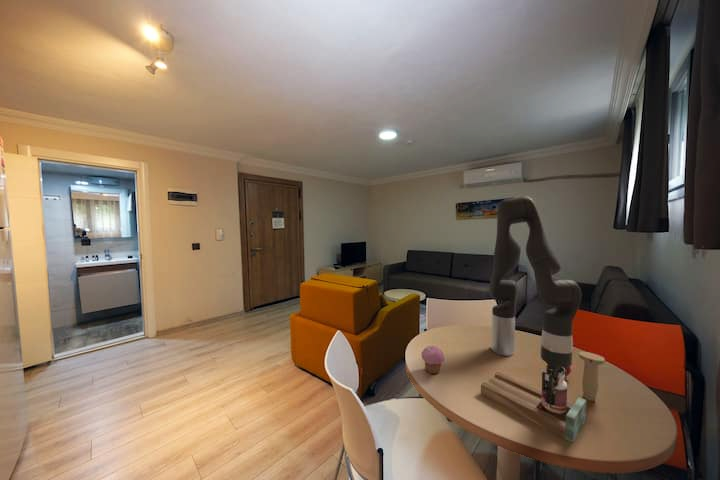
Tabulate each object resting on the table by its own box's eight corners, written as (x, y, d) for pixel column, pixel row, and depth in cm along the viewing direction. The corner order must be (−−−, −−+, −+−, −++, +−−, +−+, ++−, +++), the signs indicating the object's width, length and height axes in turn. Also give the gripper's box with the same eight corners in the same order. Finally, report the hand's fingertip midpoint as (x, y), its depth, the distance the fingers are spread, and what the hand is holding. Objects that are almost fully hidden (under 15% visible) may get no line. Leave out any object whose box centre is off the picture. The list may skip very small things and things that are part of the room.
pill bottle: (569, 408, 80) (571, 374, 79) (561, 417, 76) (563, 381, 75) (546, 397, 85) (547, 364, 84) (537, 405, 81) (538, 371, 80)
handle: (601, 406, 85) (604, 362, 84) (576, 397, 90) (578, 355, 89) (602, 399, 89) (605, 356, 88) (577, 390, 93) (579, 350, 92)
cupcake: (438, 364, 112) (438, 341, 111) (448, 376, 103) (448, 352, 102) (418, 366, 110) (418, 343, 110) (426, 378, 102) (426, 353, 101)
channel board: (497, 380, 100) (497, 362, 99) (585, 421, 79) (586, 399, 79) (480, 393, 93) (481, 374, 92) (572, 442, 72) (573, 418, 72)
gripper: (550, 334, 86) (548, 383, 87) (532, 348, 77) (530, 402, 79) (579, 343, 80) (576, 395, 81) (563, 359, 71) (560, 417, 73)
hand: (553, 398), depth 80 cm, fingers closed on pill bottle, 6 cm apart
